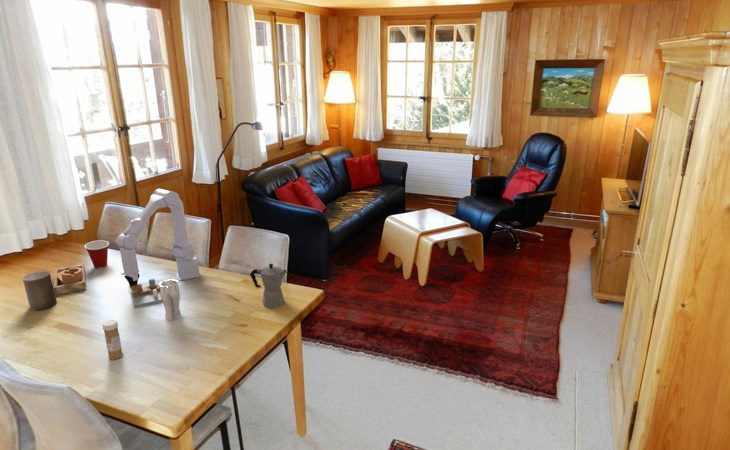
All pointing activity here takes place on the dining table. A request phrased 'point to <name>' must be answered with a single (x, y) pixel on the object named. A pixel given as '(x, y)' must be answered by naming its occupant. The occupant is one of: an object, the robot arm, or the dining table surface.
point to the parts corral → (71, 286)
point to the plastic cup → (98, 252)
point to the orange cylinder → (70, 276)
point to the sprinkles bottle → (112, 339)
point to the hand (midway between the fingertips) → (134, 290)
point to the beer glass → (170, 299)
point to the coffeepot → (271, 285)
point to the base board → (148, 294)
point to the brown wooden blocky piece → (138, 289)
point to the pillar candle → (39, 290)
